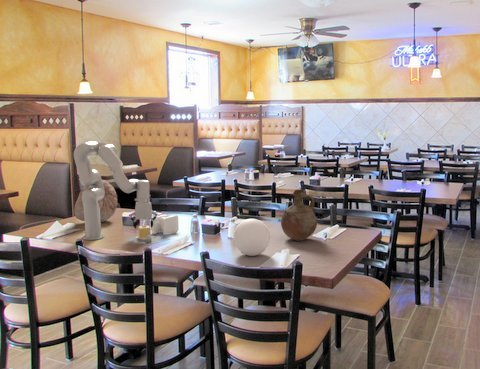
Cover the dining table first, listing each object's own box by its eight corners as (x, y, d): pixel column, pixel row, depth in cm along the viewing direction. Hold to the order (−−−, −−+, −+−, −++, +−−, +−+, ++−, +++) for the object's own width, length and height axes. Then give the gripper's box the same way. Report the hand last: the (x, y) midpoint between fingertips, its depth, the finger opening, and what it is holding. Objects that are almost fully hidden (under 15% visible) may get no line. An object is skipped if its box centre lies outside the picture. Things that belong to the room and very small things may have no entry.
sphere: (253, 248, 292) (252, 213, 289) (278, 255, 277) (278, 219, 274) (226, 255, 279) (225, 219, 276) (250, 262, 264) (250, 224, 261)
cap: (138, 236, 318) (138, 225, 317) (149, 235, 320) (148, 224, 319) (140, 238, 312) (139, 227, 311) (150, 237, 314) (150, 227, 313)
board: (123, 241, 310) (123, 233, 309) (145, 236, 324) (145, 227, 323) (148, 247, 297) (148, 238, 296) (170, 240, 311) (170, 232, 310)
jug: (279, 235, 321) (279, 188, 317) (313, 234, 321) (314, 187, 317) (282, 244, 299) (282, 193, 295) (319, 243, 300) (319, 193, 295)
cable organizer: (163, 237, 320) (163, 219, 319) (151, 235, 326) (150, 217, 324) (179, 232, 333) (178, 214, 331) (166, 230, 338) (165, 213, 337)
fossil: (115, 217, 383) (113, 177, 379) (122, 224, 360) (120, 181, 356) (72, 221, 371) (69, 180, 367) (76, 228, 347) (73, 185, 343)
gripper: (129, 201, 306) (129, 229, 309) (158, 200, 312) (158, 228, 314) (128, 199, 313) (128, 227, 316) (156, 198, 319) (156, 225, 321)
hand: (143, 227), depth 315 cm, fingers open, 9 cm apart
